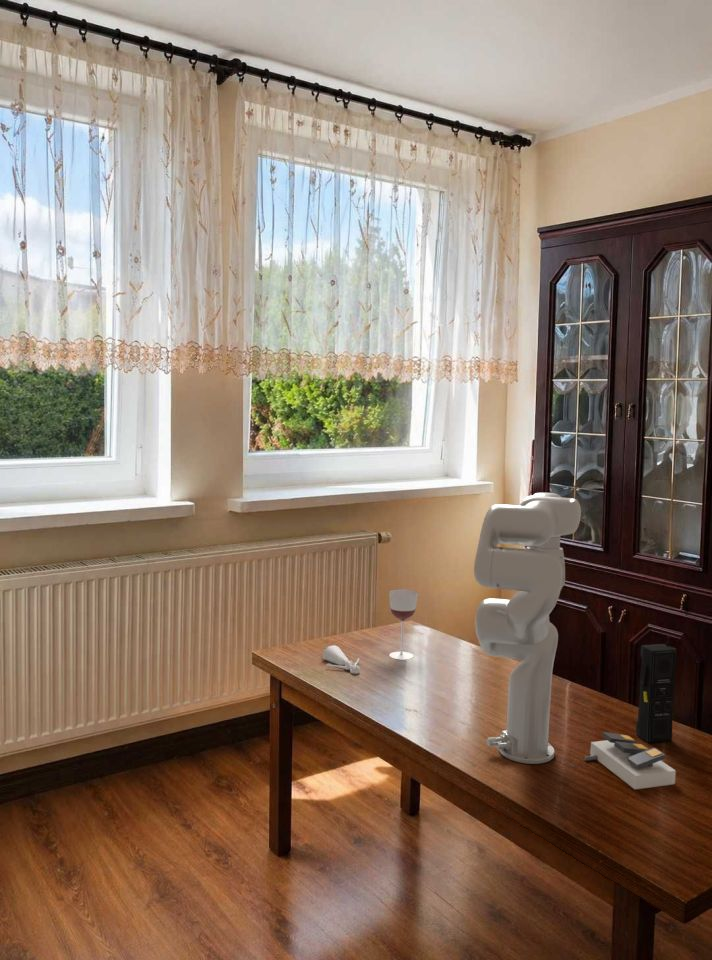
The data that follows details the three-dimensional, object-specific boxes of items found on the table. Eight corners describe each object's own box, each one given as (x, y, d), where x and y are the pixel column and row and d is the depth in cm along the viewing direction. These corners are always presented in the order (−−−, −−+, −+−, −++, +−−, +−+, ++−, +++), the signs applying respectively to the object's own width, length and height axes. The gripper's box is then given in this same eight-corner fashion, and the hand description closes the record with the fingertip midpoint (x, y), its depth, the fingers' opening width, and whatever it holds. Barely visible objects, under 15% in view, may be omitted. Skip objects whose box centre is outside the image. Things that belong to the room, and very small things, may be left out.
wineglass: (385, 651, 262) (386, 589, 260) (411, 650, 264) (414, 589, 261) (390, 660, 254) (392, 596, 252) (418, 659, 256) (420, 595, 254)
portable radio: (645, 744, 199) (652, 643, 196) (630, 734, 205) (637, 635, 202) (673, 741, 201) (681, 641, 198) (658, 731, 207) (665, 633, 204)
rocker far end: (638, 772, 179) (637, 764, 178) (628, 764, 182) (627, 756, 182) (666, 762, 180) (664, 753, 180) (655, 754, 184) (654, 746, 183)
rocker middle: (622, 756, 183) (624, 747, 183) (613, 749, 186) (615, 740, 186) (649, 758, 185) (651, 750, 185) (639, 751, 189) (641, 743, 188)
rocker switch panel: (622, 791, 176) (623, 777, 175) (578, 755, 192) (579, 743, 192) (674, 784, 180) (675, 770, 179) (627, 750, 196) (628, 737, 195)
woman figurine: (344, 640, 259) (375, 661, 244) (343, 653, 260) (374, 675, 245) (311, 645, 253) (341, 667, 238) (310, 659, 254) (340, 682, 239)
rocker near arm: (609, 745, 188) (611, 737, 188) (600, 739, 191) (602, 731, 191) (635, 749, 190) (637, 741, 190) (625, 742, 193) (627, 734, 193)
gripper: (524, 546, 202) (520, 620, 205) (579, 544, 207) (574, 616, 209) (510, 540, 210) (506, 611, 212) (563, 538, 214) (559, 608, 216)
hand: (540, 613), depth 210 cm, fingers closed
